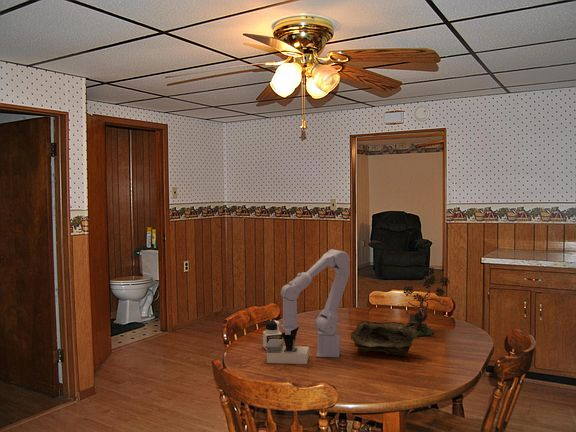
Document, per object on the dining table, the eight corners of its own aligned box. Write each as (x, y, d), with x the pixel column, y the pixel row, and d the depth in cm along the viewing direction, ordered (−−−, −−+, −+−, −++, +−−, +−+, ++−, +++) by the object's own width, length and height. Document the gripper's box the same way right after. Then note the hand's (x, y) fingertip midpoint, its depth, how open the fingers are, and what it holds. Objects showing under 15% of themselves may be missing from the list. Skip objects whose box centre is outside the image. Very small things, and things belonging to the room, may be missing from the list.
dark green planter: (418, 369, 207) (426, 337, 215) (412, 354, 199) (420, 321, 207) (354, 357, 221) (364, 327, 230) (346, 342, 213) (356, 312, 221)
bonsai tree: (450, 342, 228) (449, 272, 227) (394, 338, 236) (394, 270, 235) (450, 323, 261) (450, 262, 260) (402, 320, 269) (401, 261, 268)
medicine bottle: (266, 351, 219) (266, 323, 219) (263, 346, 226) (262, 319, 226) (282, 349, 221) (282, 322, 221) (278, 345, 228) (278, 318, 228)
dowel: (295, 358, 209) (295, 339, 209) (294, 361, 205) (294, 341, 205) (287, 358, 209) (286, 338, 209) (285, 360, 206) (285, 341, 206)
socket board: (309, 355, 212) (309, 339, 212) (306, 364, 201) (306, 347, 201) (270, 354, 214) (269, 338, 214) (265, 363, 203) (265, 346, 203)
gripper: (283, 310, 214) (283, 342, 215) (277, 318, 200) (278, 352, 201) (299, 310, 213) (300, 342, 214) (295, 318, 199) (295, 353, 200)
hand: (290, 347), depth 207 cm, fingers open, 7 cm apart
